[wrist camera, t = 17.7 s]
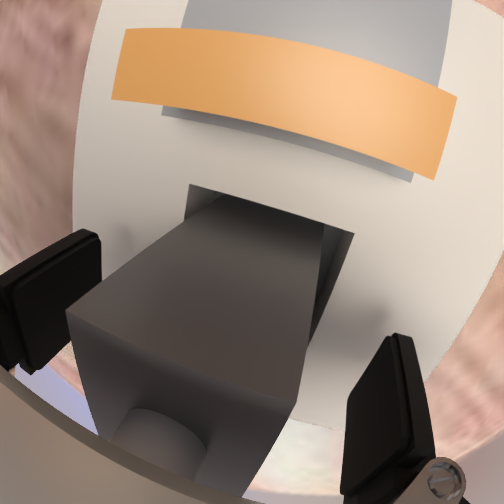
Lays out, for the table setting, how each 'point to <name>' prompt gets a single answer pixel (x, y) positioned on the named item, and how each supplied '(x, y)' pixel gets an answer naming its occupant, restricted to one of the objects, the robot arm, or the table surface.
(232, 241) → the plug
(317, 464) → the table surface
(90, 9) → the table surface
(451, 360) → the table surface
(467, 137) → the socket board
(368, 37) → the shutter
